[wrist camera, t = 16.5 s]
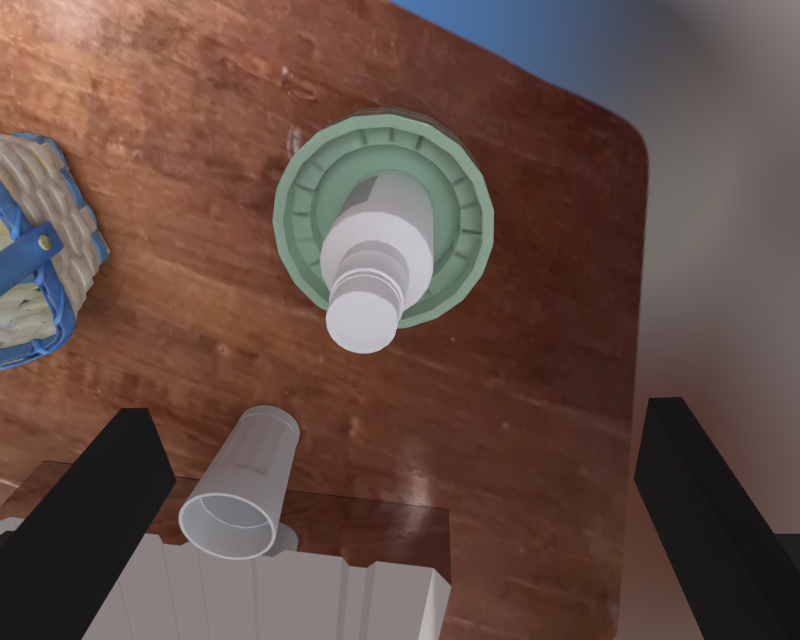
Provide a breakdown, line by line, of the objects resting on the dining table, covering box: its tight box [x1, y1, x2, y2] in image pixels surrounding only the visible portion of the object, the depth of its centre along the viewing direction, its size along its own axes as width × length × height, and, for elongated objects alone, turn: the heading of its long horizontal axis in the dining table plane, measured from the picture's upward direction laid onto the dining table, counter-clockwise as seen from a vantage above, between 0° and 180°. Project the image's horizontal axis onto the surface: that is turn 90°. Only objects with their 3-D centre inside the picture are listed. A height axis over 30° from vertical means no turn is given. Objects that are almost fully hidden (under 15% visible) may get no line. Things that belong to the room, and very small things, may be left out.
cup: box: [179, 405, 300, 560], centre depth 47 cm, size 8×8×12 cm
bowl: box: [272, 106, 494, 328], centre depth 38 cm, size 16×16×5 cm
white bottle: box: [320, 169, 433, 353], centre depth 32 cm, size 7×7×18 cm
